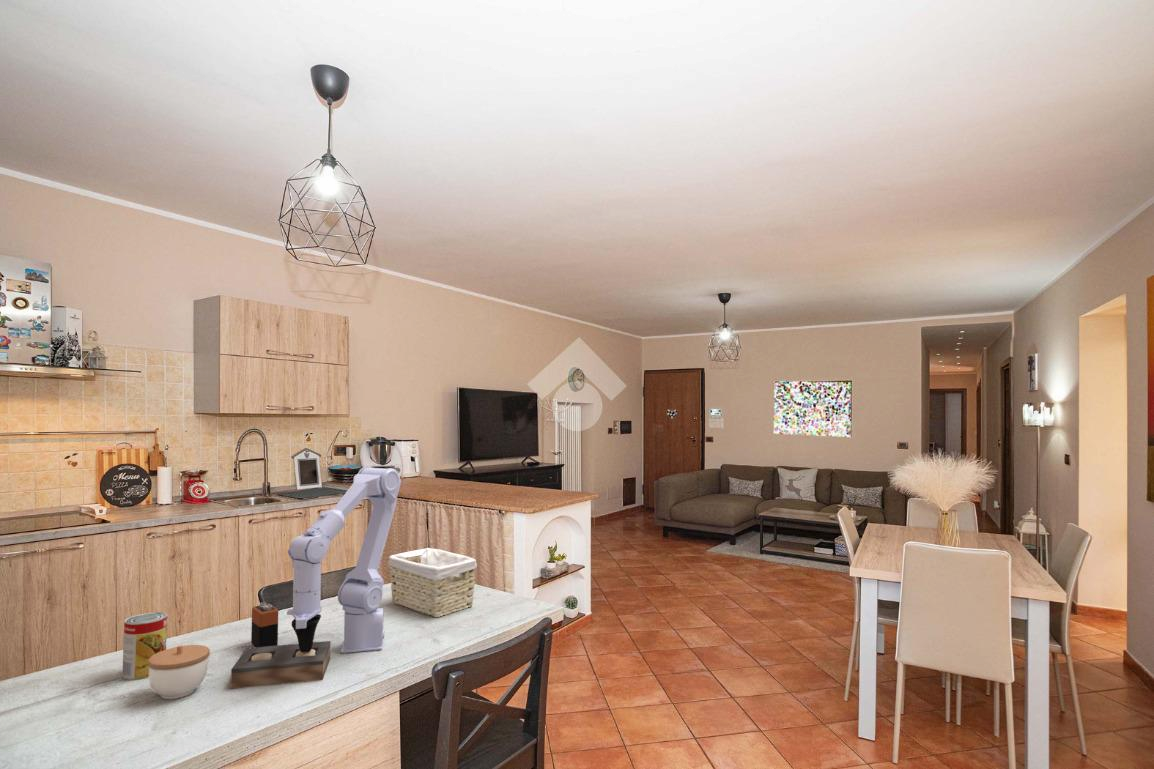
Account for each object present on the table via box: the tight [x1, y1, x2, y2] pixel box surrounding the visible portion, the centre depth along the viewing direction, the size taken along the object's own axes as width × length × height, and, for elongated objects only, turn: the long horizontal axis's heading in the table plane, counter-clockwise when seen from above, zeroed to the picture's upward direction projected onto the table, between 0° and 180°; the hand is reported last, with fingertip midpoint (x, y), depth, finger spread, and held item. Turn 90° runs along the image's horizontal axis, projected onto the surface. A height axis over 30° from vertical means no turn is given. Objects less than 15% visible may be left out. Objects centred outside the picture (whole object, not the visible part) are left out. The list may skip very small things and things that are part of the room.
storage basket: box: [388, 547, 478, 618], centre depth 185 cm, size 24×16×15 cm
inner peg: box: [296, 649, 315, 657], centre depth 138 cm, size 4×4×4 cm
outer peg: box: [251, 653, 272, 661], centre depth 135 cm, size 4×4×4 cm
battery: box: [250, 602, 279, 648], centre depth 153 cm, size 4×7×10 cm, turn 44°
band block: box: [230, 640, 332, 690], centre depth 137 cm, size 18×12×4 cm, turn 105°
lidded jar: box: [148, 644, 211, 700], centre depth 127 cm, size 11×11×9 cm
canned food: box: [121, 611, 168, 681], centre depth 137 cm, size 8×8×12 cm
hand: (305, 650), depth 138 cm, fingers closed
